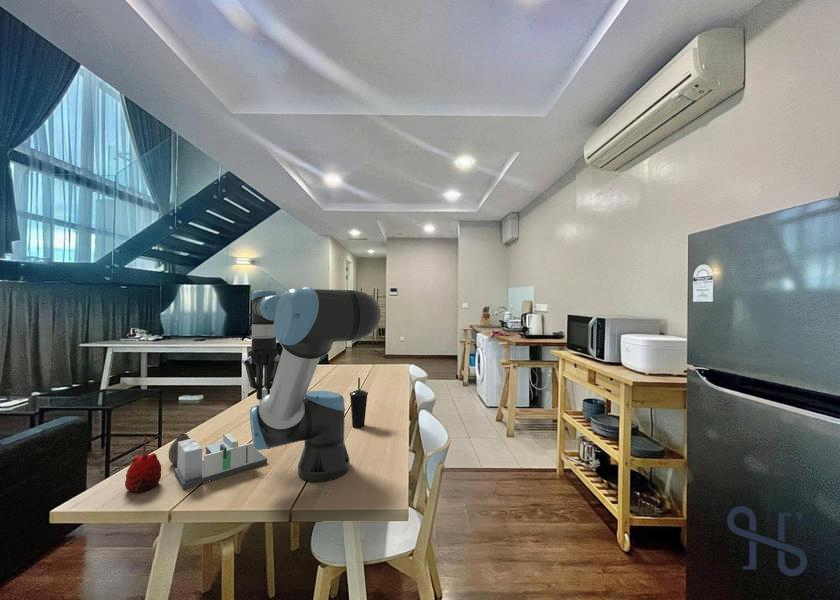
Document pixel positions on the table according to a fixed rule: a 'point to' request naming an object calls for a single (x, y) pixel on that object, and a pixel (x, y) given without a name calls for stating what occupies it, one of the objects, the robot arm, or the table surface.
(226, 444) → the gauge plunger
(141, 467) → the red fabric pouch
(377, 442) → the table surface
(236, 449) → the base
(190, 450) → the white vise jaw block
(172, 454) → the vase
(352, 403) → the drinking cup
